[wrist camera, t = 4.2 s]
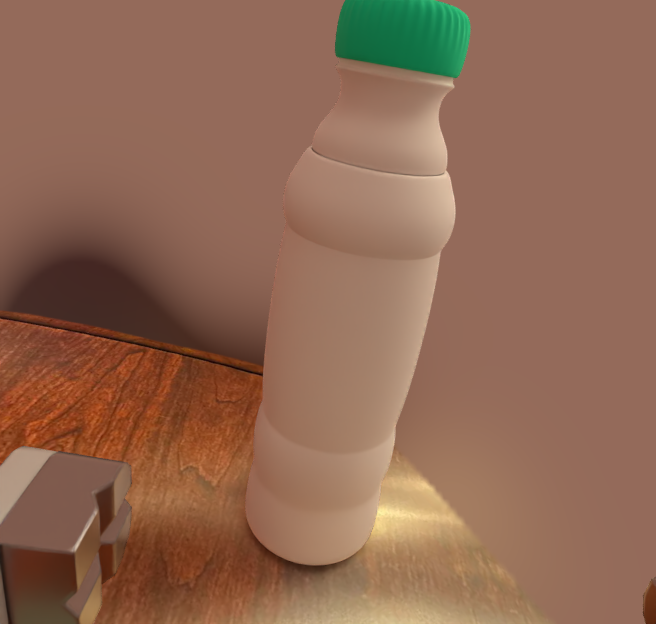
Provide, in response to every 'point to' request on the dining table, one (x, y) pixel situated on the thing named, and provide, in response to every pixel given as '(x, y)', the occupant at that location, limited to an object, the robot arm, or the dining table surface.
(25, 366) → the dining table surface
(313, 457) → the water bottle
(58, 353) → the dining table surface
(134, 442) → the dining table surface
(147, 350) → the dining table surface
